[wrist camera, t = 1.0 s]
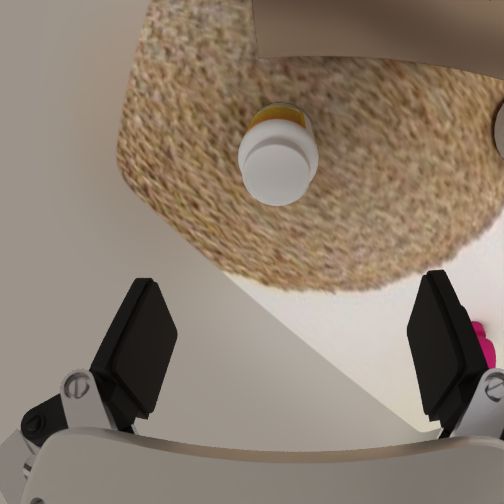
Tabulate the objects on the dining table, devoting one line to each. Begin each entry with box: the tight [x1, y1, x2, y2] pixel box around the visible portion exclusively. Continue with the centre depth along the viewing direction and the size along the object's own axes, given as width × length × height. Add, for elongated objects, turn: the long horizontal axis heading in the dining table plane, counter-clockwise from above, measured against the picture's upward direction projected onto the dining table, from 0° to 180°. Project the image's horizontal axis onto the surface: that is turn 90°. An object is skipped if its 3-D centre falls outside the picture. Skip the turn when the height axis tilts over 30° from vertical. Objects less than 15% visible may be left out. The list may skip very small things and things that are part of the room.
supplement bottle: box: [238, 103, 319, 206], centre depth 22 cm, size 5×5×10 cm
